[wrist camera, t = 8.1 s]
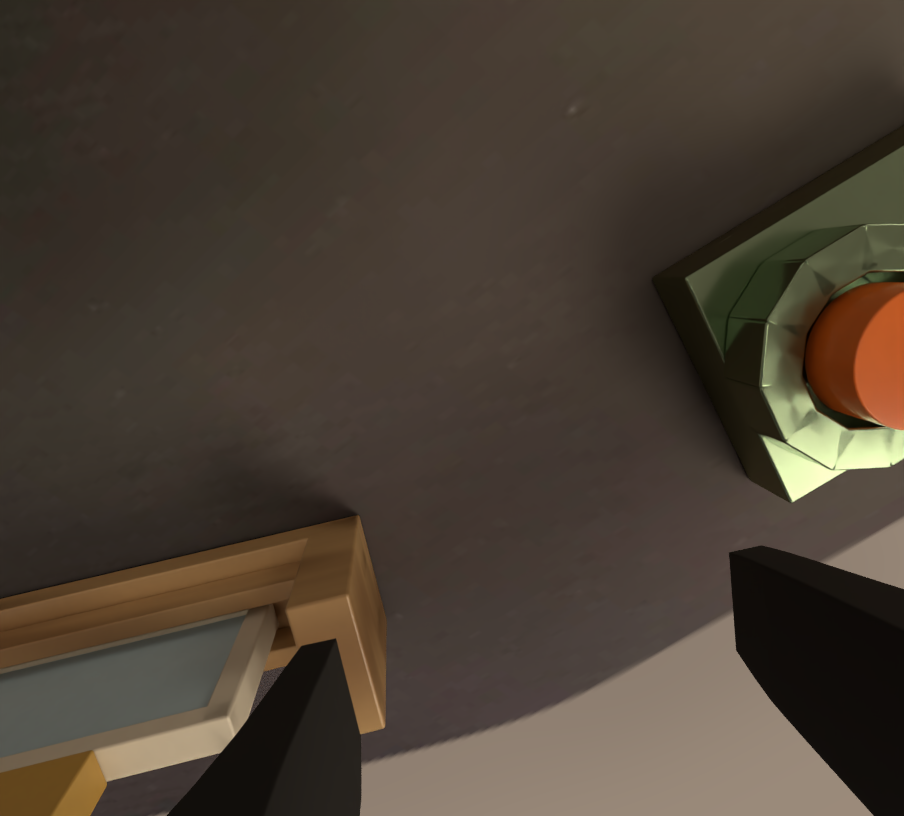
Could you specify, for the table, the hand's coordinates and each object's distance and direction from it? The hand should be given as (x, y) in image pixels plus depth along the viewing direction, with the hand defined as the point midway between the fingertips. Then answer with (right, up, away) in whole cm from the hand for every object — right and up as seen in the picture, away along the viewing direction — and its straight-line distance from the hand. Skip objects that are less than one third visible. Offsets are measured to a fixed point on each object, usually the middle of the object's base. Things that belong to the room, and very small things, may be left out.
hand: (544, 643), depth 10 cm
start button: (+10, +6, +5) cm, 12 cm away
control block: (+11, +8, +9) cm, 16 cm away
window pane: (-11, -3, +8) cm, 14 cm away
